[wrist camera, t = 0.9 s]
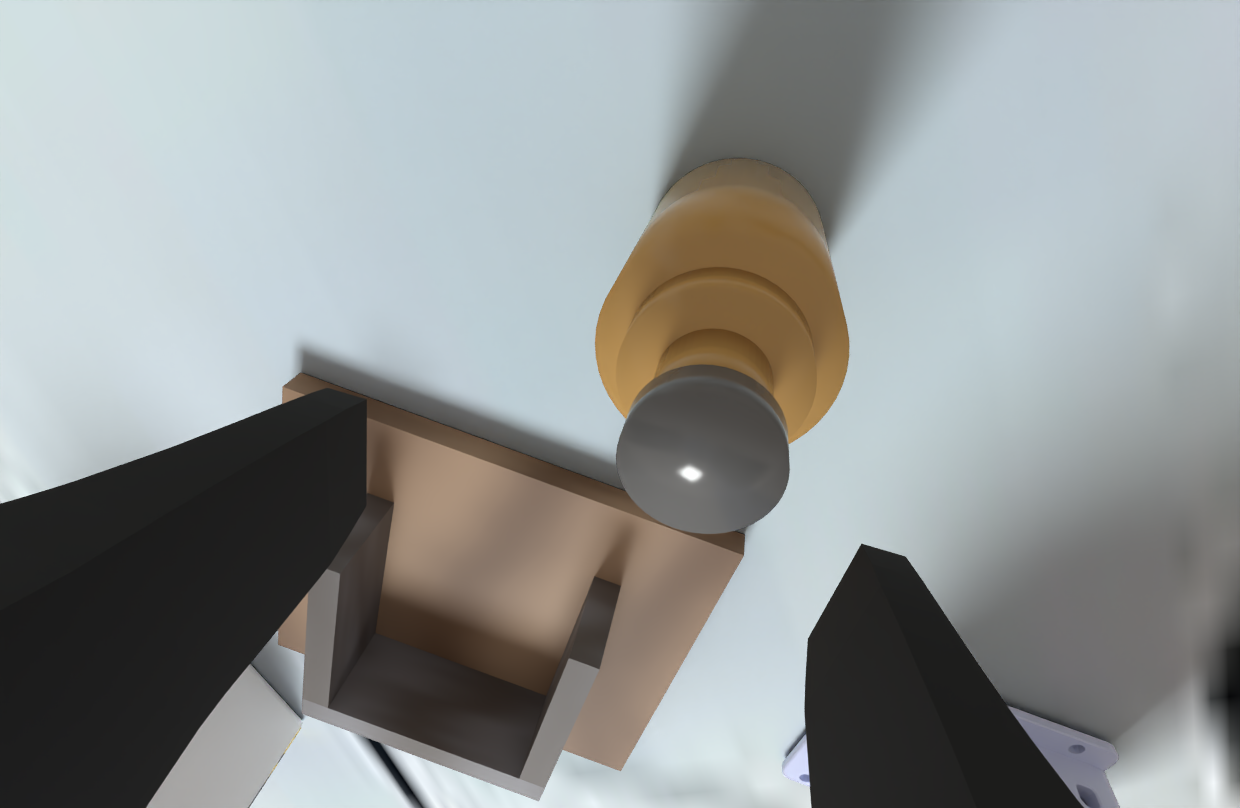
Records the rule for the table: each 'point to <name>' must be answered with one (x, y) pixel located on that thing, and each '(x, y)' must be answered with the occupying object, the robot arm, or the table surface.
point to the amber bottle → (721, 345)
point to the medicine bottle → (232, 749)
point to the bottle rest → (498, 606)
